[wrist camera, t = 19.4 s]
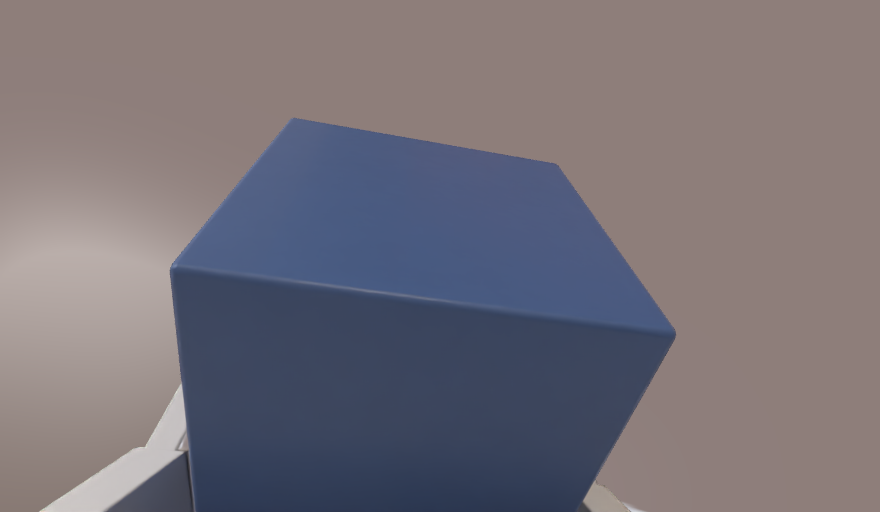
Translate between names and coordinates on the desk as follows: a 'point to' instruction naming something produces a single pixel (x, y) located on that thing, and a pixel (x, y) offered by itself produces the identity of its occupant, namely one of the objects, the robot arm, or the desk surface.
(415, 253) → the blue block
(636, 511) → the desk surface
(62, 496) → the robot arm
